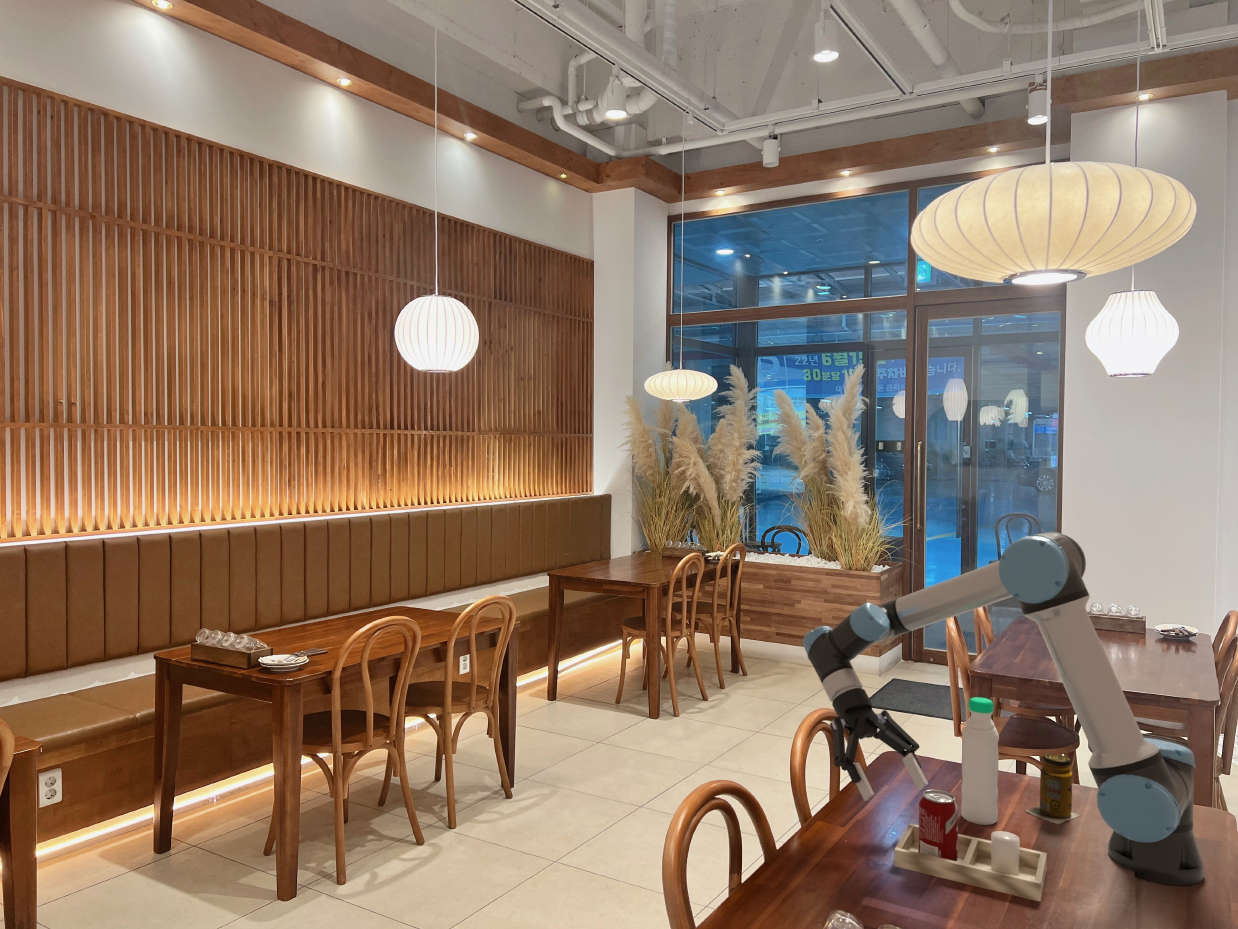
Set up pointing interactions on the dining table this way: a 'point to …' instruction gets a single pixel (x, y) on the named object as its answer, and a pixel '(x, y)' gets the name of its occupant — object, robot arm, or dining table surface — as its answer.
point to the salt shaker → (1005, 852)
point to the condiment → (1055, 790)
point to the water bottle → (980, 764)
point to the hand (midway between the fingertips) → (896, 792)
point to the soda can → (938, 825)
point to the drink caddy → (975, 865)
